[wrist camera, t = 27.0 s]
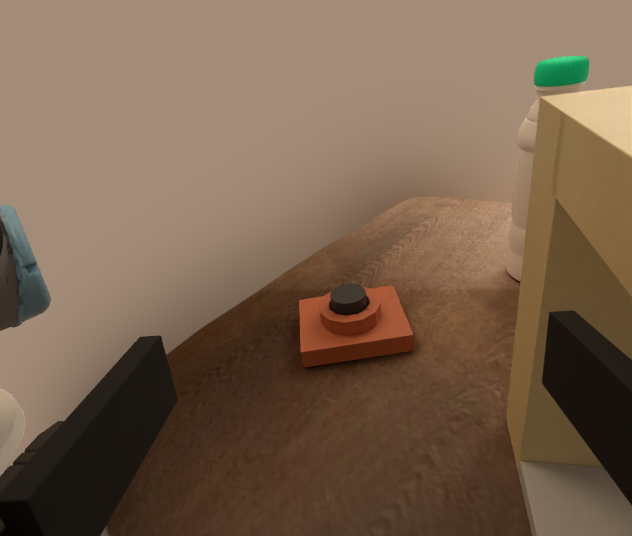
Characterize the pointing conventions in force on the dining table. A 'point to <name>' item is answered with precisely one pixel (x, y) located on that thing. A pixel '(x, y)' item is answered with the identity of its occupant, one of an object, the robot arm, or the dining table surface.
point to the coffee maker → (572, 302)
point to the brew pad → (353, 329)
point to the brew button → (348, 299)
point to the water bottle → (549, 81)
